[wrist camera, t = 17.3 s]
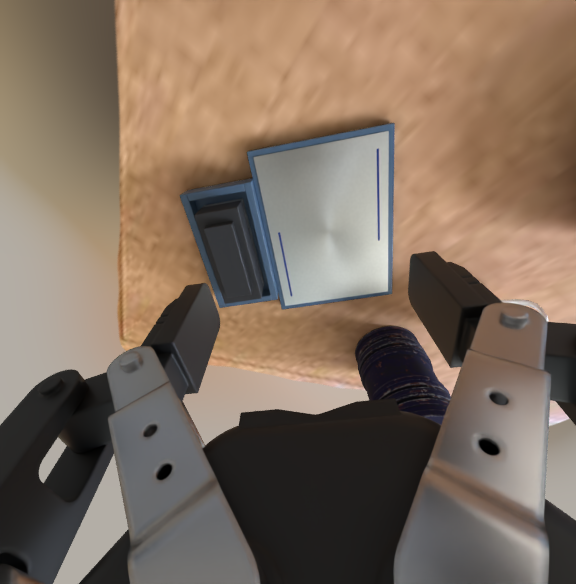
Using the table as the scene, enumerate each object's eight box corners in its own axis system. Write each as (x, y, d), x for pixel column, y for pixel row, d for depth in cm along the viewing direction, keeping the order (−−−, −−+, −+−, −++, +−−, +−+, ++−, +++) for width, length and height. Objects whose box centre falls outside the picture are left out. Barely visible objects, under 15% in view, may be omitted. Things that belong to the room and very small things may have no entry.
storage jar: (389, 314, 41) (434, 402, 28) (432, 346, 44) (490, 439, 31) (341, 354, 45) (361, 447, 32) (383, 381, 48) (417, 476, 35)
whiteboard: (247, 151, 30) (246, 152, 29) (391, 122, 29) (395, 122, 28) (282, 305, 40) (281, 310, 39) (390, 290, 39) (392, 294, 38)
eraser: (203, 205, 32) (190, 217, 28) (243, 198, 32) (236, 209, 28) (230, 288, 38) (223, 308, 34) (264, 282, 37) (261, 302, 33)
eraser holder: (186, 190, 32) (179, 195, 30) (253, 177, 32) (250, 181, 29) (223, 297, 40) (219, 308, 38) (278, 289, 39) (277, 299, 37)
